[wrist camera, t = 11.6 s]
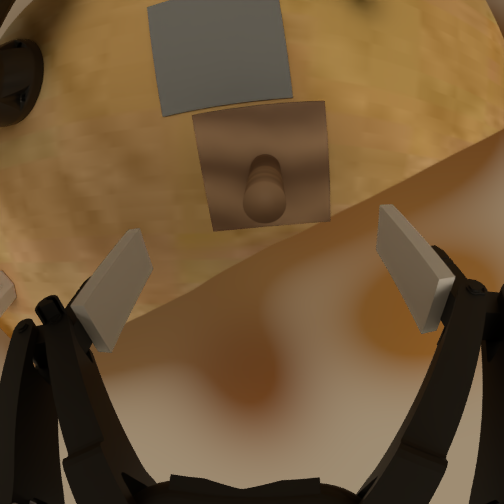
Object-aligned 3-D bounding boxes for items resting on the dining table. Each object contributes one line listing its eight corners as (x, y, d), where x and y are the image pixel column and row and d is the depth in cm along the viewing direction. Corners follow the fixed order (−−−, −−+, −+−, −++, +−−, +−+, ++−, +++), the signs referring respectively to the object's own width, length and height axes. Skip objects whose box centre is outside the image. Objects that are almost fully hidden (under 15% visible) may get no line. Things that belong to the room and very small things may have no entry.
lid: (194, 114, 27) (156, 126, 17) (322, 100, 26) (353, 104, 16) (215, 226, 33) (194, 285, 24) (328, 217, 32) (352, 273, 22)
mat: (148, 8, 24) (147, 7, 24) (275, -16, 23) (275, -18, 22) (164, 116, 32) (162, 116, 32) (292, 97, 31) (292, 97, 30)
